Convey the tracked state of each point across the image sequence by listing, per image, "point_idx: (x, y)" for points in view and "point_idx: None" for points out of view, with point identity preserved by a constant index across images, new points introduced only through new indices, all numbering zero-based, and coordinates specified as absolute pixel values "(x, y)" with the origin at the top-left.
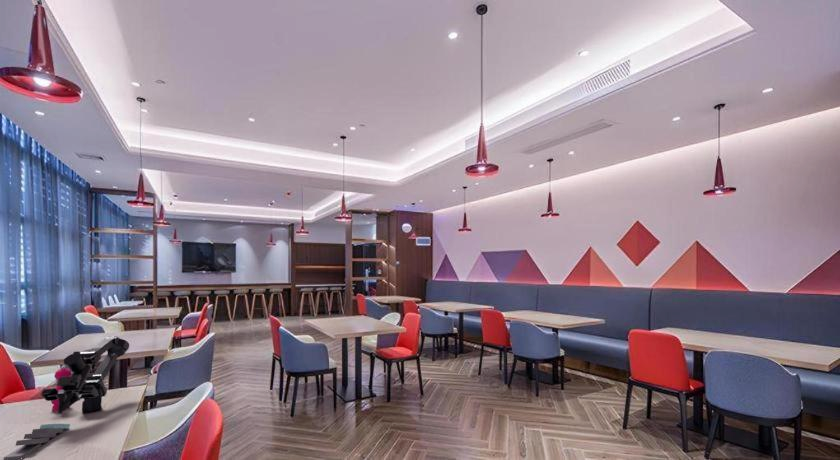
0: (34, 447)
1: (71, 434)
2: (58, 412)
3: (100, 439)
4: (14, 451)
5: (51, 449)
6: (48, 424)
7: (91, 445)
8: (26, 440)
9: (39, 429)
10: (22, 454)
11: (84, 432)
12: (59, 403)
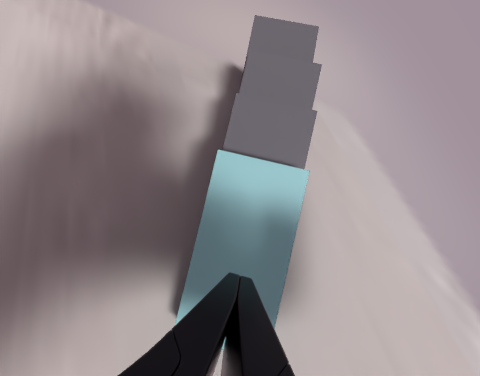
0: None
1: (148, 196)
2: (248, 278)
3: (27, 74)
4: None
5: (194, 67)
6: (262, 161)
7: (63, 38)
8: (281, 22)
9: (281, 105)
10: None
11: (87, 194)
12: (286, 371)
